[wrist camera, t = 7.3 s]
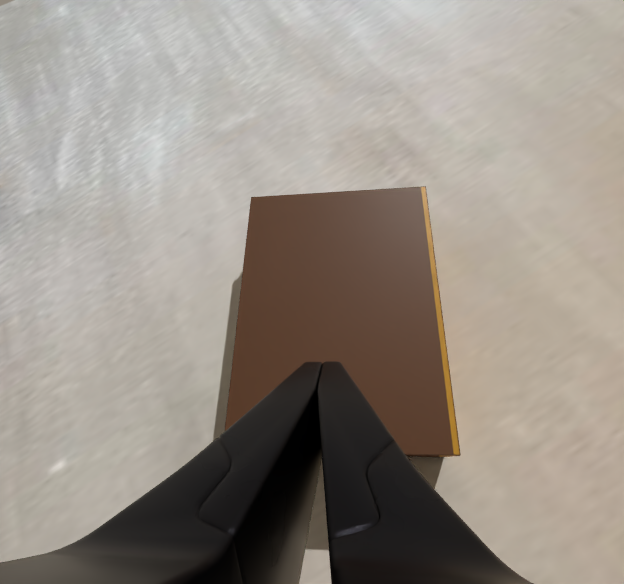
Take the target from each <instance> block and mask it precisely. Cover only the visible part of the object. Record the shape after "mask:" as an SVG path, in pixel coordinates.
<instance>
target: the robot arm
mask: <svg viewBox="0 0 624 584" xmlns="http://www.w3.org/2000/svg"><path fill="white" fill-rule="evenodd" d="M321 458H322V463H323V476H324V489H325V502H326V515H327V529H328V542H329V555H330V568H331V581H332V584H533V583H531V582H529V581H527V580H526V579H524V578H523V577H521V576H520V575H518V574H517V573H516V572H514V571H513V570H512V569H510V568H509V567H508V566H507V565H506V564H504V563H503V562H502V561H501V560H500V559H499V558H498V557H497V556H496V555H495V554H494V553H493V552H492V551H491V550H490V549H489V548H488V547H487V546H486V545H485V544H484V543H483V542H482V541H481V540H480V538H479V537H478V536H477V535H476V534H475V533H474V532H473V531H472V530H471V529H470V528H469V527H468V526H467V524H466V523H465V522H464V521H463V520H462V519H461V518H460V517H459V516H458V515H457V514H456V513H455V511H454V510H453V509H452V508H451V507H450V506H449V505H448V504H447V503H446V502H445V501H444V500H443V499H442V497H441V496H440V495H439V494H438V493H437V492H436V491H435V490H434V489H433V488H432V486H431V485H430V484H429V483H428V482H427V481H426V480H425V478H424V477H423V476H422V475H421V474H420V473H419V472H418V470H417V469H416V468H415V466H414V465H413V464H412V462H411V461H410V460H409V458H408V457H407V456H406V455H405V453H404V452H403V450H402V449H401V447H400V446H399V445H398V443H397V442H396V441H395V439H394V438H393V436H392V435H391V433H390V432H389V431H388V429H387V428H386V426H385V425H384V423H383V422H382V421H381V419H380V418H379V416H378V415H377V414H376V412H375V411H374V409H373V408H372V406H371V405H370V404H369V402H368V401H367V399H366V398H365V396H364V395H363V394H362V392H361V391H360V389H359V388H358V387H357V385H356V384H355V382H354V381H353V379H352V378H351V377H350V375H349V374H348V372H347V371H346V369H345V368H344V367H343V365H342V364H341V363H340V362H338V361H332V362H324V363H323V364H322V363H321V362H305V363H304V364H302V365H301V366H300V367H299V368H298V369H297V370H295V371H294V372H293V373H292V374H291V375H290V376H288V377H287V378H286V379H285V380H284V381H283V382H282V383H280V384H279V385H278V386H277V387H276V388H275V389H273V390H272V391H271V392H270V393H269V394H268V395H267V396H265V397H264V398H263V399H262V400H261V401H260V402H258V403H257V404H256V405H255V406H254V407H253V408H251V409H250V410H249V411H248V412H247V413H246V414H245V415H243V416H242V417H241V418H240V419H239V420H238V421H236V422H235V423H234V424H233V425H232V426H231V427H230V428H228V429H227V430H226V431H225V432H224V433H223V434H221V435H220V438H217V439H215V440H214V441H213V442H212V443H211V444H210V445H209V446H207V447H206V448H205V449H204V450H203V451H201V452H200V453H199V454H198V455H197V456H195V457H194V458H193V459H192V460H190V461H189V462H188V463H187V464H186V465H184V466H183V467H182V468H180V469H179V470H178V471H176V472H175V473H174V474H172V475H171V476H170V477H168V478H167V479H166V480H164V481H163V482H162V483H160V484H159V485H157V486H156V487H155V488H153V489H152V490H150V491H149V492H148V493H146V494H145V495H144V496H142V497H141V498H139V499H138V500H137V501H135V502H134V503H132V504H131V505H130V506H128V507H127V508H125V509H124V510H123V511H121V512H120V513H118V514H117V515H116V516H114V517H113V518H112V519H110V520H109V521H107V522H106V523H105V524H103V525H102V526H100V527H99V528H98V529H96V530H95V531H93V532H92V533H90V534H89V535H87V536H85V537H84V538H82V539H80V540H78V541H76V542H75V543H72V544H70V545H68V546H66V547H63V548H61V549H58V550H55V551H52V552H49V553H46V554H42V555H37V556H32V557H27V558H22V559H17V560H12V561H7V562H1V563H0V584H299V580H300V574H301V569H302V563H303V558H304V553H305V547H306V542H307V536H308V531H309V525H310V520H311V514H312V509H313V503H314V498H315V493H316V487H317V482H318V476H319V471H320V465H321Z"/></svg>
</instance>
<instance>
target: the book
mask: <svg viewBox="0 0 624 584" xmlns="http://www.w3.org/2000/svg"><path fill="white" fill-rule="evenodd" d="M332 361H338V362H340V363H341V364H342V365H343V367H344V368H345V369H346V371H347V372H348V374H349V375H350V377H351V378H352V379H353V381H354V382H355V384H356V385H357V387H358V388H359V389H360V391H361V392H362V394H363V395H364V396H365V398H366V399H367V401H368V402H369V404H370V405H371V406H372V408H373V409H374V411H375V412H376V414H377V415H378V416H379V418H380V419H381V421H382V422H383V423H384V425H385V426H386V428H387V429H388V431H389V432H390V433H391V435H392V436H393V438H394V439H395V441H396V442H397V443H398V445H399V446H400V447H401V449H402V450H403V452H404V453H405V455H406V456H420V457H451V456H460V448H459V440H458V432H457V424H456V417H455V409H454V401H453V394H452V386H451V378H450V370H449V363H448V355H447V347H446V340H445V332H444V324H443V316H442V309H441V301H440V293H439V286H438V278H437V270H436V262H435V255H434V247H433V239H432V232H431V224H430V216H429V208H428V201H427V193H426V187H409V188H393V189H376V190H360V191H344V192H328V193H312V194H296V195H280V196H264V197H251V204H250V213H249V222H248V230H247V239H246V248H245V257H244V266H243V274H242V283H241V292H240V301H239V310H238V319H237V327H236V336H235V345H234V354H233V363H232V371H231V380H230V389H229V398H228V407H227V415H226V424H225V431H226V430H227V429H228V428H230V427H231V426H232V425H233V424H234V423H235V422H236V421H238V420H239V419H240V418H241V417H242V416H243V415H245V414H246V413H247V412H248V411H249V410H250V409H251V408H253V407H254V406H255V405H256V404H257V403H258V402H260V401H261V400H262V399H263V398H264V397H265V396H267V395H268V394H269V393H270V392H271V391H272V390H273V389H275V388H276V387H277V386H278V385H279V384H280V383H282V382H283V381H284V380H285V379H286V378H287V377H288V376H290V375H291V374H292V373H293V372H294V371H295V370H297V369H298V368H299V367H300V366H301V365H302V364H304V363H305V362H321V363H322V364H323V363H324V362H332Z"/></svg>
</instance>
